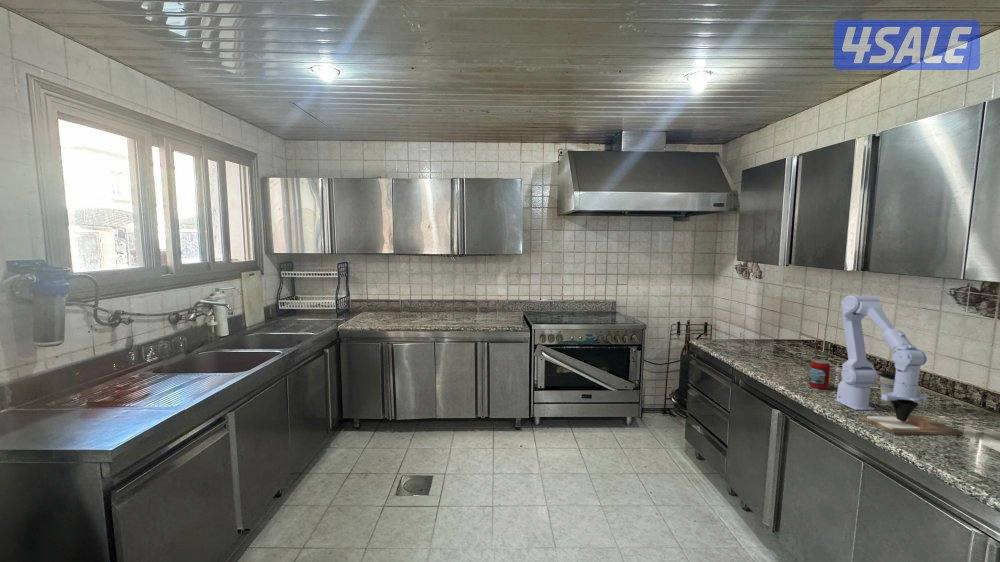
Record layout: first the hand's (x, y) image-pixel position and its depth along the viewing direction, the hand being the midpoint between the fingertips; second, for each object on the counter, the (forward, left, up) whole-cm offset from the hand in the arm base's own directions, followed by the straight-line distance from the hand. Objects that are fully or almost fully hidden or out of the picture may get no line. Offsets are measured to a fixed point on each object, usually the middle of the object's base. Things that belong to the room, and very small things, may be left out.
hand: (901, 419), depth 138 cm
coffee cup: (-27, +24, -3) cm, 36 cm away
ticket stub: (0, +6, -1) cm, 6 cm away
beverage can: (-37, +2, -3) cm, 37 cm away
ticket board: (0, +3, -2) cm, 4 cm away
